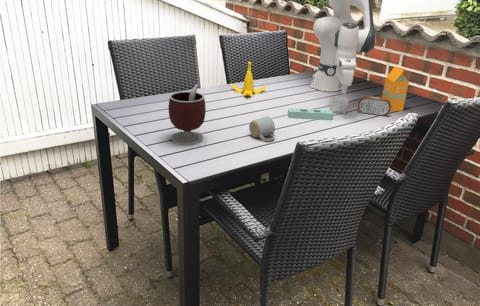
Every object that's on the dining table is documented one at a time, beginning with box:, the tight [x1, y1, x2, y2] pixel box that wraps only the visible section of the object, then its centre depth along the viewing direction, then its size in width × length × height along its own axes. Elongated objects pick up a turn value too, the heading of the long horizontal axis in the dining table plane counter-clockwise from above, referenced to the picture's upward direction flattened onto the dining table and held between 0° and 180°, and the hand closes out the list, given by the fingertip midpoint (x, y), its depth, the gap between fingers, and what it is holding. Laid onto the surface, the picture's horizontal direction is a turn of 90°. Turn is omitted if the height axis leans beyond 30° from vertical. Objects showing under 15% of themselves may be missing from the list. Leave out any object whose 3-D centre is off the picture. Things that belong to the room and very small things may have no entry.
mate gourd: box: [168, 83, 207, 146], centre depth 160 cm, size 16×14×20 cm
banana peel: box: [230, 61, 267, 97], centre depth 220 cm, size 16×19×17 cm
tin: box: [357, 95, 391, 117], centre depth 198 cm, size 15×3×8 cm, turn 71°
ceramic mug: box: [248, 115, 276, 143], centre depth 167 cm, size 11×8×8 cm
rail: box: [287, 107, 334, 121], centre depth 192 cm, size 5×20×3 cm, turn 88°
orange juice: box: [381, 66, 410, 112], centre depth 206 cm, size 8×9×20 cm
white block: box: [329, 96, 349, 115], centre depth 198 cm, size 8×2×8 cm, turn 88°
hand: (341, 90), depth 194 cm, fingers open, 8 cm apart
